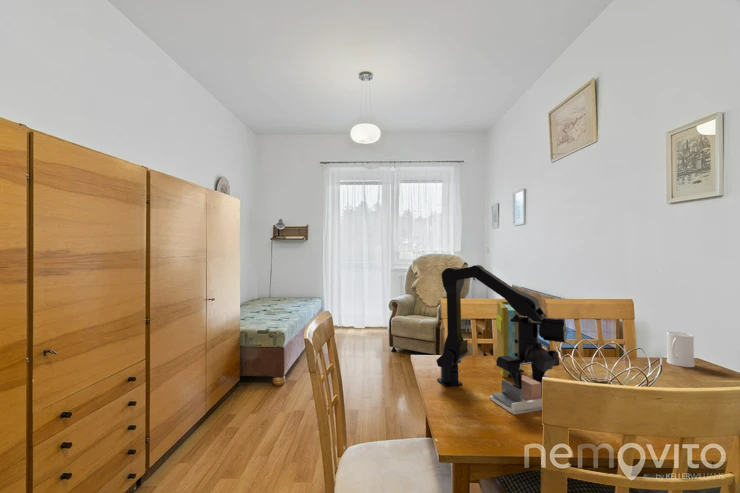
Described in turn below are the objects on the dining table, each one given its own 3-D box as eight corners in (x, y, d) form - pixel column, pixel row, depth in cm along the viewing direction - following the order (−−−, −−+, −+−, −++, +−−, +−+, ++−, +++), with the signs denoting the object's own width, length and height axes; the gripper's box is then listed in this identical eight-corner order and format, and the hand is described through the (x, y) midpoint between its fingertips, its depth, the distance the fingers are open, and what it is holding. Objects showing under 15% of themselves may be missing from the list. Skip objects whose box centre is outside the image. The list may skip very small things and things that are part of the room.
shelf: (489, 398, 108) (489, 377, 108) (539, 391, 114) (539, 371, 114) (514, 414, 98) (513, 391, 98) (568, 405, 103) (567, 383, 104)
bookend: (491, 395, 108) (491, 381, 108) (504, 393, 109) (503, 379, 109) (509, 406, 100) (509, 391, 100) (522, 404, 101) (522, 389, 101)
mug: (684, 370, 134) (683, 338, 134) (657, 363, 142) (657, 333, 142) (699, 365, 139) (698, 335, 140) (672, 359, 147) (672, 330, 147)
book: (522, 378, 126) (521, 308, 126) (502, 376, 127) (501, 307, 127) (512, 363, 142) (512, 301, 143) (495, 362, 144) (495, 301, 144)
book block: (515, 394, 109) (514, 376, 109) (524, 392, 110) (524, 375, 110) (531, 403, 103) (531, 384, 103) (541, 402, 104) (541, 383, 104)
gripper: (520, 347, 96) (521, 404, 96) (574, 341, 102) (574, 396, 102) (495, 337, 107) (495, 389, 107) (544, 333, 112) (545, 382, 112)
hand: (528, 389), depth 107 cm, fingers open, 6 cm apart
